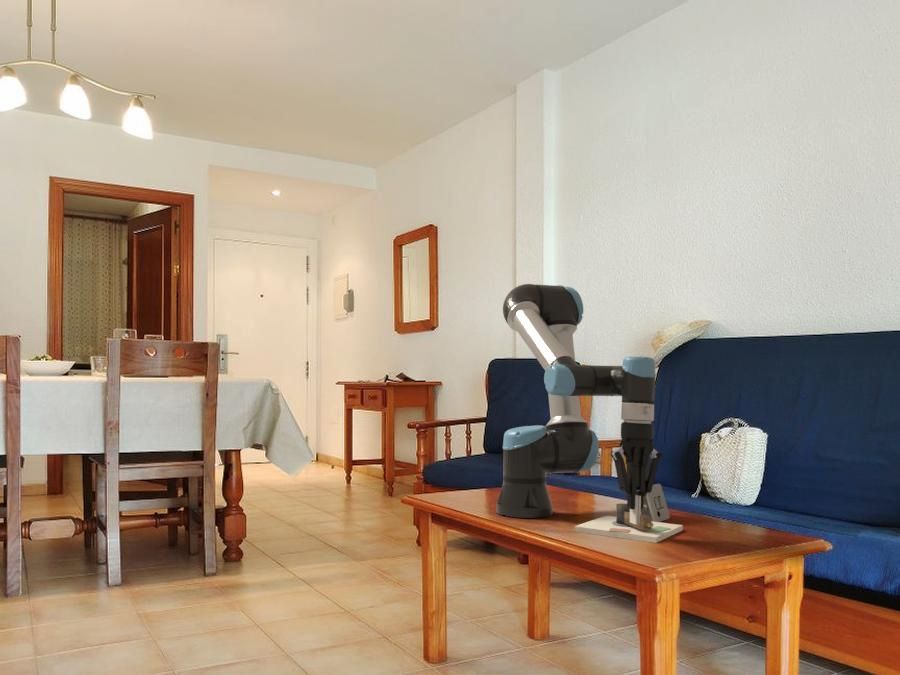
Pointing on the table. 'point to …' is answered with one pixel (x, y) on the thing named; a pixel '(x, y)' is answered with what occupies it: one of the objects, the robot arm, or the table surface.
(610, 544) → the table surface
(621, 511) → the peg
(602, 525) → the tuner plate
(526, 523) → the table surface
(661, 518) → the electrical switch
